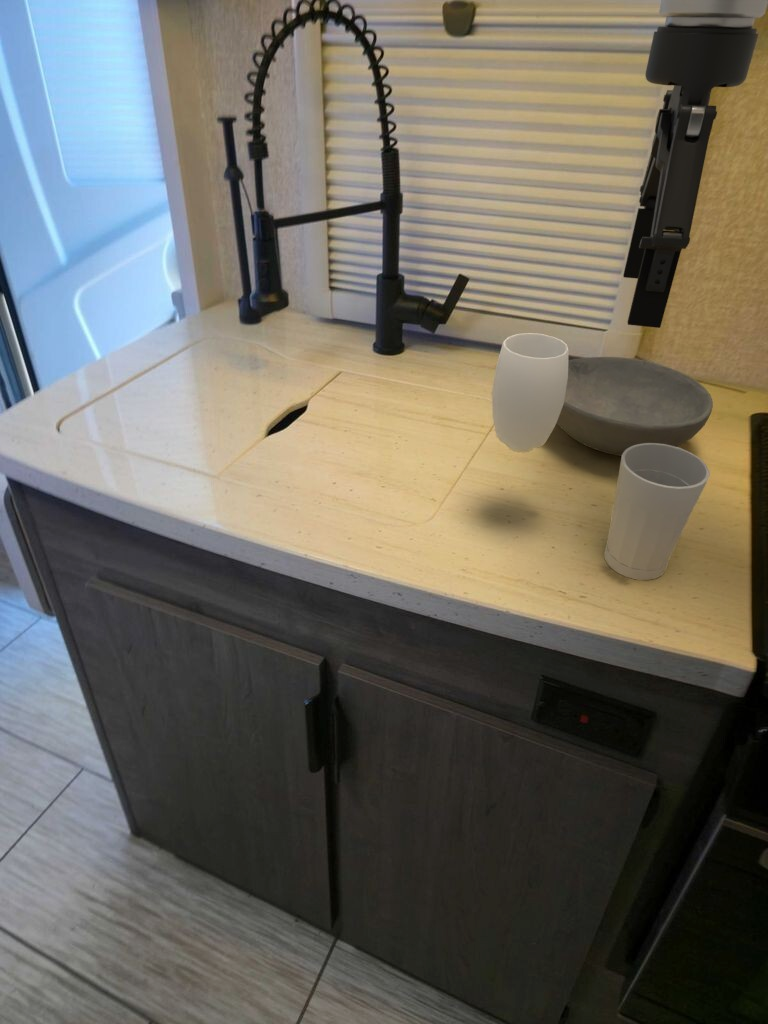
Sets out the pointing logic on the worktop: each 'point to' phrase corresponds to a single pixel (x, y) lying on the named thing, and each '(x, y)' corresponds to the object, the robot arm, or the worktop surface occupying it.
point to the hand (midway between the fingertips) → (639, 299)
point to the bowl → (631, 404)
